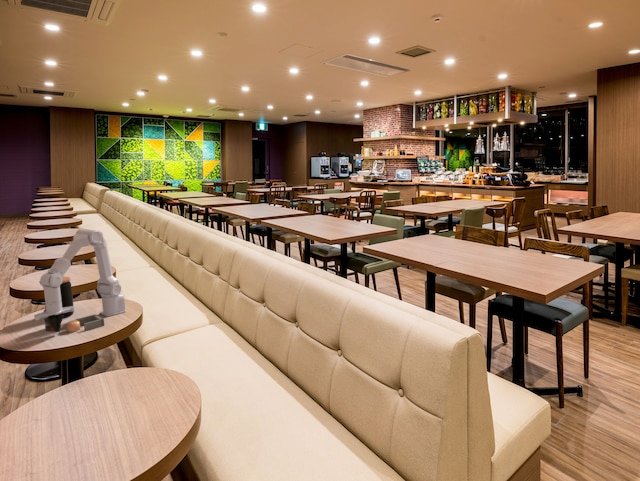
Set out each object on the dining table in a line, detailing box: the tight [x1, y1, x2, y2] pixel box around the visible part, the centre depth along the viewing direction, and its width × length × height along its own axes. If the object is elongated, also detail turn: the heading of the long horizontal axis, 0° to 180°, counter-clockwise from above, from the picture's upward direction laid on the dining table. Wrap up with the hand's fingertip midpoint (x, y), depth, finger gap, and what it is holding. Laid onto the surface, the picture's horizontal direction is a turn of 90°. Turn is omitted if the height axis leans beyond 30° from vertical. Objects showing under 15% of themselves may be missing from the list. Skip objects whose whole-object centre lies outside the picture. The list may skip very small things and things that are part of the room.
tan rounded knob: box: [65, 320, 81, 333], centre depth 184 cm, size 5×5×4 cm
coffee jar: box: [60, 276, 75, 319], centre depth 201 cm, size 11×11×18 cm
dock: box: [75, 314, 105, 331], centre depth 190 cm, size 8×9×3 cm
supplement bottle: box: [42, 304, 62, 332], centre depth 185 cm, size 6×6×11 cm
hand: (56, 331), depth 179 cm, fingers closed
